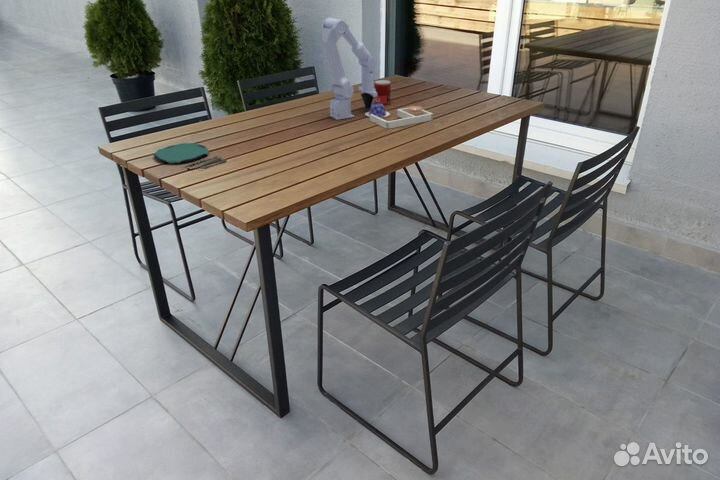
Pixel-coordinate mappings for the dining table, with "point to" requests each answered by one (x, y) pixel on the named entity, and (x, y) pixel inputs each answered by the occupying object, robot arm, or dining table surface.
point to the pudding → (377, 111)
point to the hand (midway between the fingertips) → (367, 108)
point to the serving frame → (406, 119)
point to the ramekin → (415, 110)
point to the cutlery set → (185, 154)
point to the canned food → (383, 92)
